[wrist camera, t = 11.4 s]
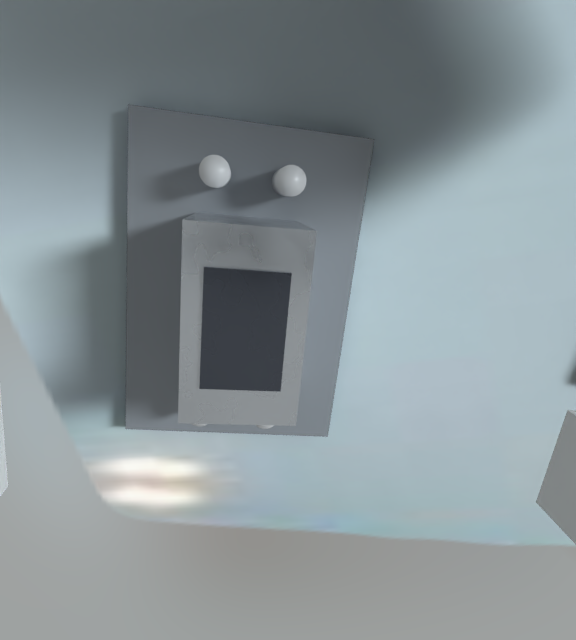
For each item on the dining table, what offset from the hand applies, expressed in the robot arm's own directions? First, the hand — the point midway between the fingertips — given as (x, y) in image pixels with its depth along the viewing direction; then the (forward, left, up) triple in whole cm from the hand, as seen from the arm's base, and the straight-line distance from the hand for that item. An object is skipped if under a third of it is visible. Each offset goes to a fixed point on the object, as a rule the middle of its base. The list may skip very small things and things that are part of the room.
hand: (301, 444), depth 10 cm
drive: (+1, -1, -18) cm, 18 cm away
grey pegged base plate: (+1, -1, -19) cm, 19 cm away
